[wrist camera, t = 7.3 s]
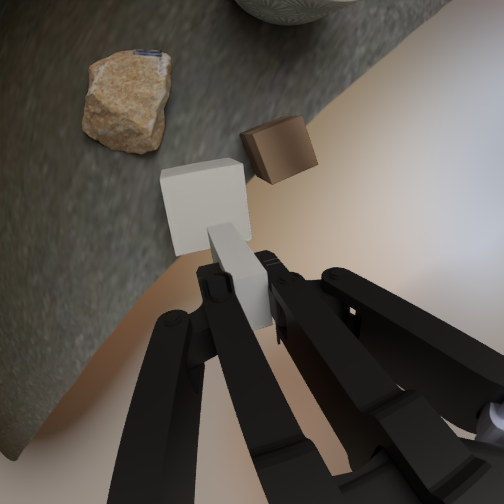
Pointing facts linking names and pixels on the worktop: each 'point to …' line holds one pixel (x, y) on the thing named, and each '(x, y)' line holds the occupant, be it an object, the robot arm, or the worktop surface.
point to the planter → (292, 10)
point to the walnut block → (279, 148)
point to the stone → (128, 100)
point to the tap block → (204, 202)
